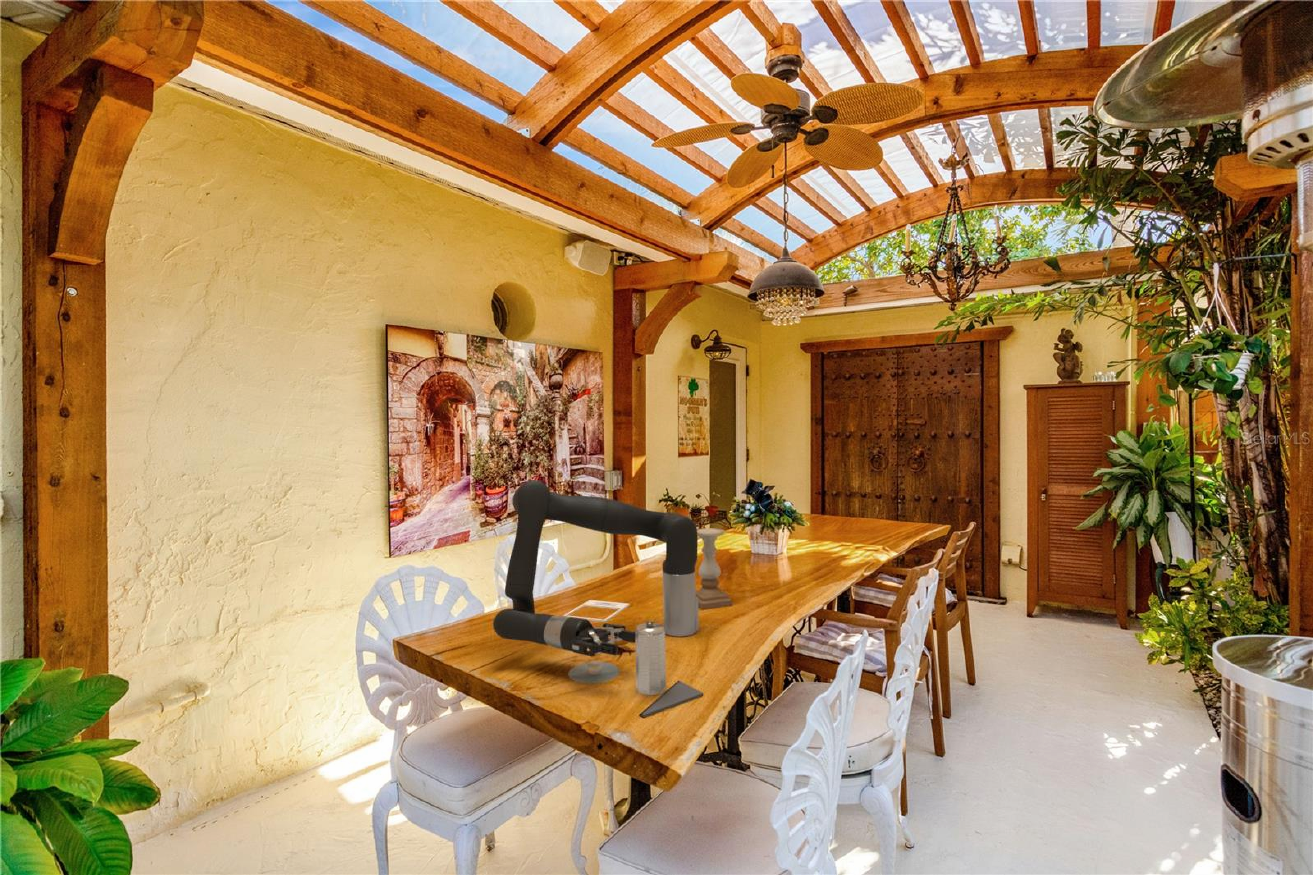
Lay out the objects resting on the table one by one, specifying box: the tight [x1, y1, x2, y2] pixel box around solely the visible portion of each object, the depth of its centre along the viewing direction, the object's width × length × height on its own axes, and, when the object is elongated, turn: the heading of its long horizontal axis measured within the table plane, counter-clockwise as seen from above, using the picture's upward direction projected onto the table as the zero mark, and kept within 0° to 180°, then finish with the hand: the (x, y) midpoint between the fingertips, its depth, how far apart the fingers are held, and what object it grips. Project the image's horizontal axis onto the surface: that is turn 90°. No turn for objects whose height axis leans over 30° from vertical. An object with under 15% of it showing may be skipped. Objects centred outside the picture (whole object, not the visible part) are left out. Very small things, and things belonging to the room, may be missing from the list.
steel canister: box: [634, 621, 667, 696], centre depth 134 cm, size 6×6×15 cm
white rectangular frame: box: [562, 599, 631, 623], centre depth 194 cm, size 15×1×18 cm
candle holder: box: [695, 527, 733, 610], centre depth 200 cm, size 11×11×24 cm
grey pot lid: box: [567, 660, 621, 684], centre depth 143 cm, size 12×12×3 cm
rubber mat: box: [638, 680, 704, 719], centre depth 134 cm, size 16×16×1 cm
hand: (627, 643), depth 136 cm, fingers open, 8 cm apart
